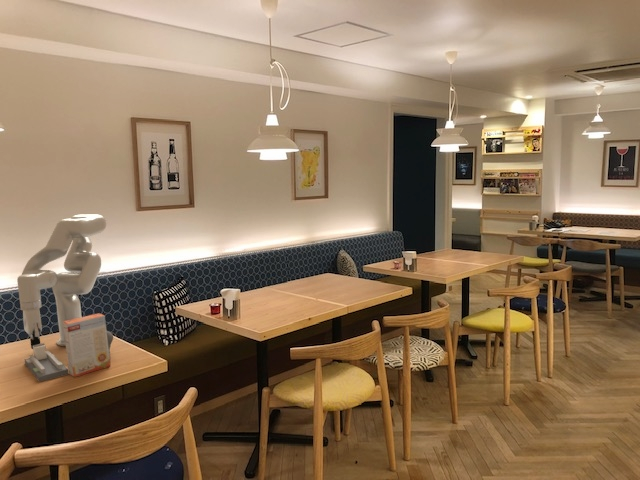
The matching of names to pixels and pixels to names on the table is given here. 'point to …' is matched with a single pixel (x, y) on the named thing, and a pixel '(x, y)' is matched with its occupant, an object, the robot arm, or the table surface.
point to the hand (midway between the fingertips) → (36, 347)
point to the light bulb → (109, 339)
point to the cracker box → (86, 344)
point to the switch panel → (46, 367)
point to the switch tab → (40, 351)
